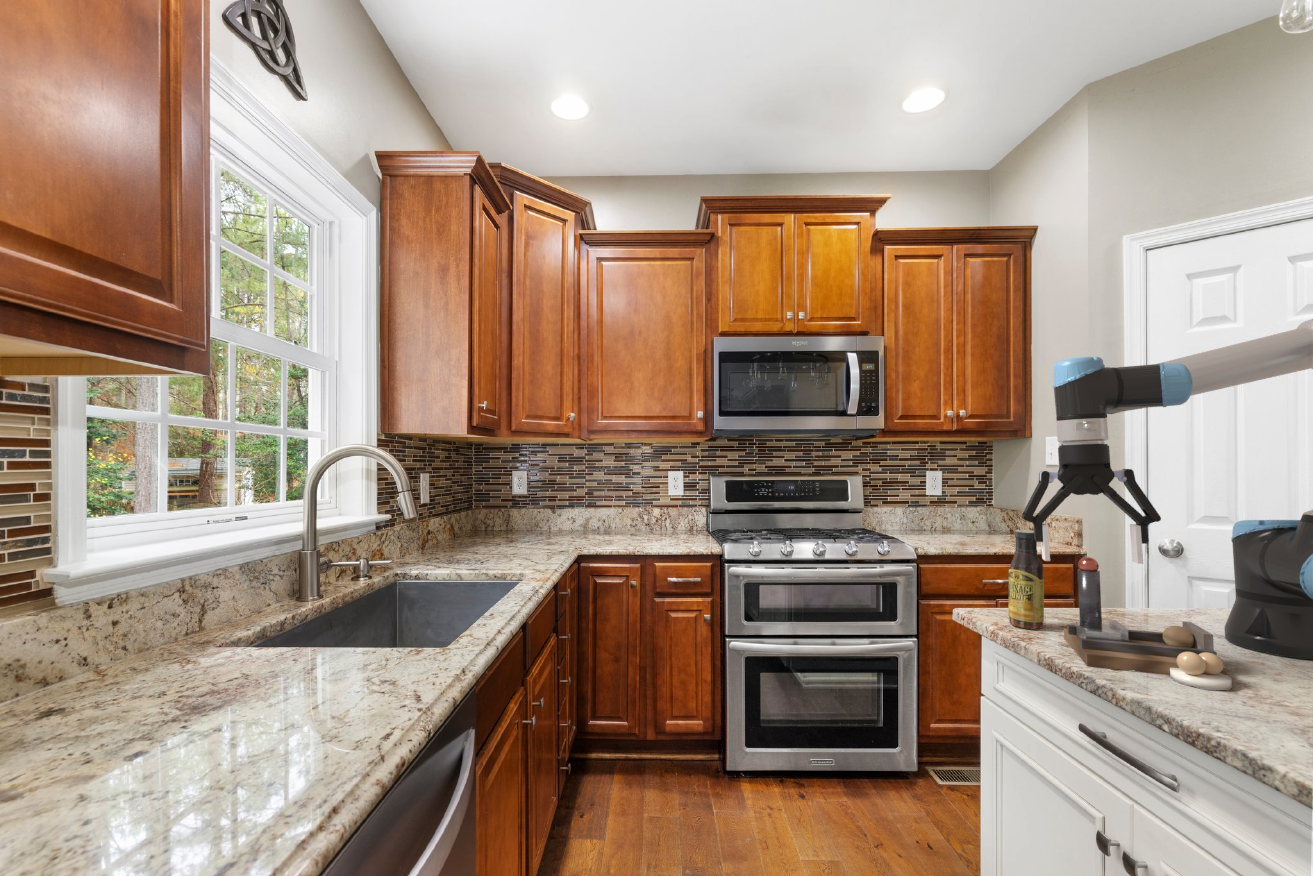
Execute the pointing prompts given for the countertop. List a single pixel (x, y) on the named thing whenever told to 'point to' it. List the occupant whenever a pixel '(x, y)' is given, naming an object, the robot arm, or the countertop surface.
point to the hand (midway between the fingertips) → (1090, 561)
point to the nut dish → (1202, 680)
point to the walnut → (1178, 637)
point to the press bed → (1138, 650)
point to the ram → (1094, 606)
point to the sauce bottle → (1026, 583)
